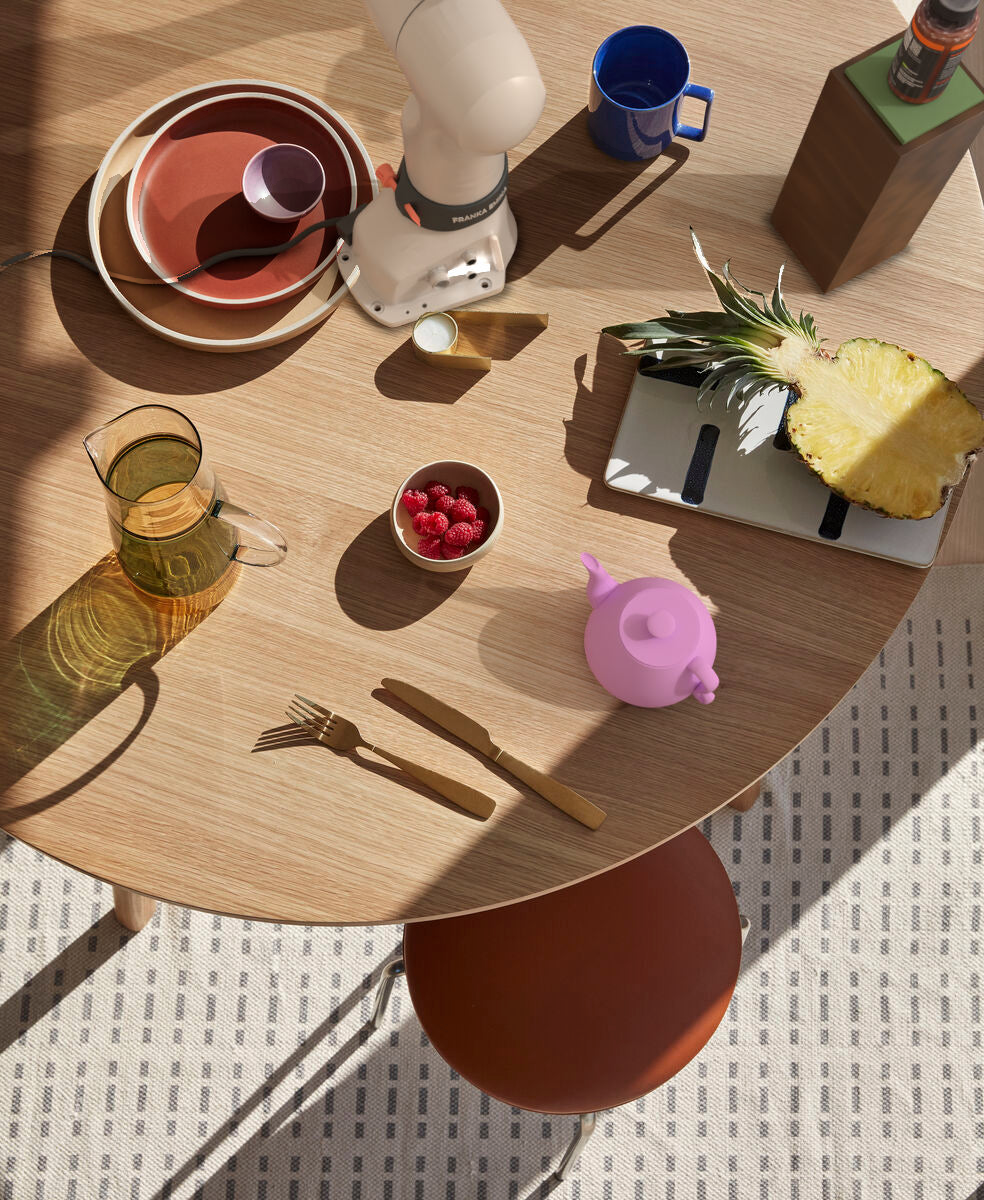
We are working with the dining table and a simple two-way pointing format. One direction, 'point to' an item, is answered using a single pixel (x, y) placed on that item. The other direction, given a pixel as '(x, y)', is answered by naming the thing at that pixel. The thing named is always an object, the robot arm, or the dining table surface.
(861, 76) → the green mat
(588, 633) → the teapot
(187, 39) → the dining table surface
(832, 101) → the walnut stand
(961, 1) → the supplement bottle
